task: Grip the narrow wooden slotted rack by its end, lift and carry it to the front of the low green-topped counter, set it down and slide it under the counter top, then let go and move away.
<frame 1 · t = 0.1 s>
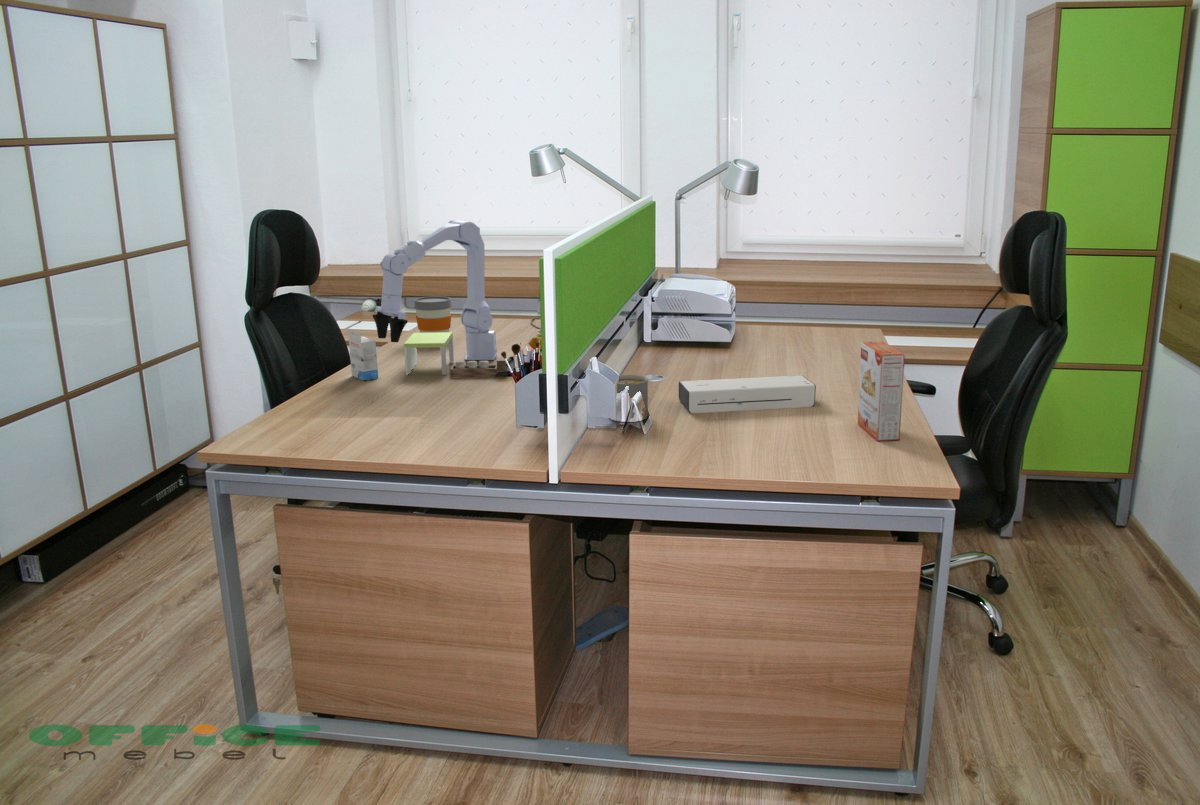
hand: (388, 340, 303), 11 cm above the table, tool pointing down, fingers open, 7 cm apart
ink box: (365, 378, 303), on the table
coffee mug: (621, 418, 258), on the table
laminator: (745, 405, 269), on the table
reusable coffee cup: (435, 342, 350), on the table
cracker box: (877, 433, 243), on the table
counter: (430, 368, 312), on the table
wooden slotted rack: (474, 375, 303), on the table
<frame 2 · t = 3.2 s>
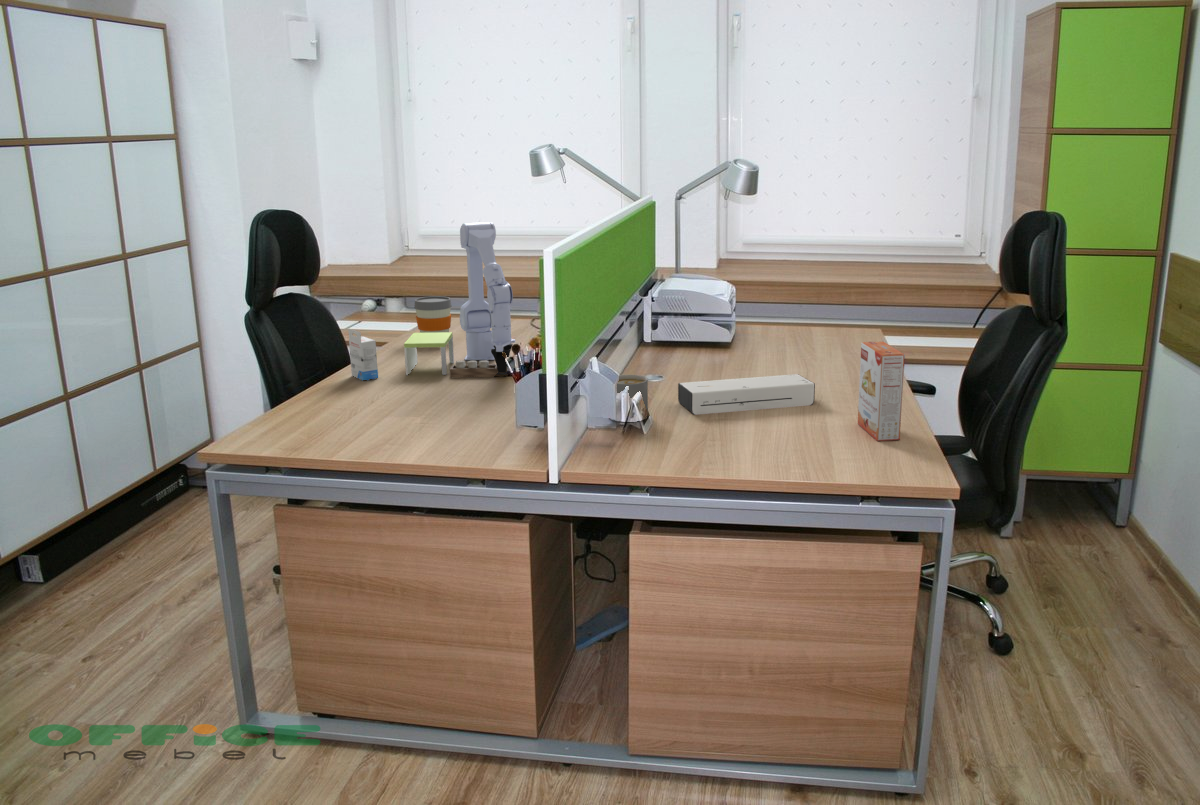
hand: (502, 370, 303), 1 cm above the table, tool pointing down, fingers closed on wooden slotted rack, 5 cm apart
wooden slotted rack: (474, 375, 303), on the table, touching gripper
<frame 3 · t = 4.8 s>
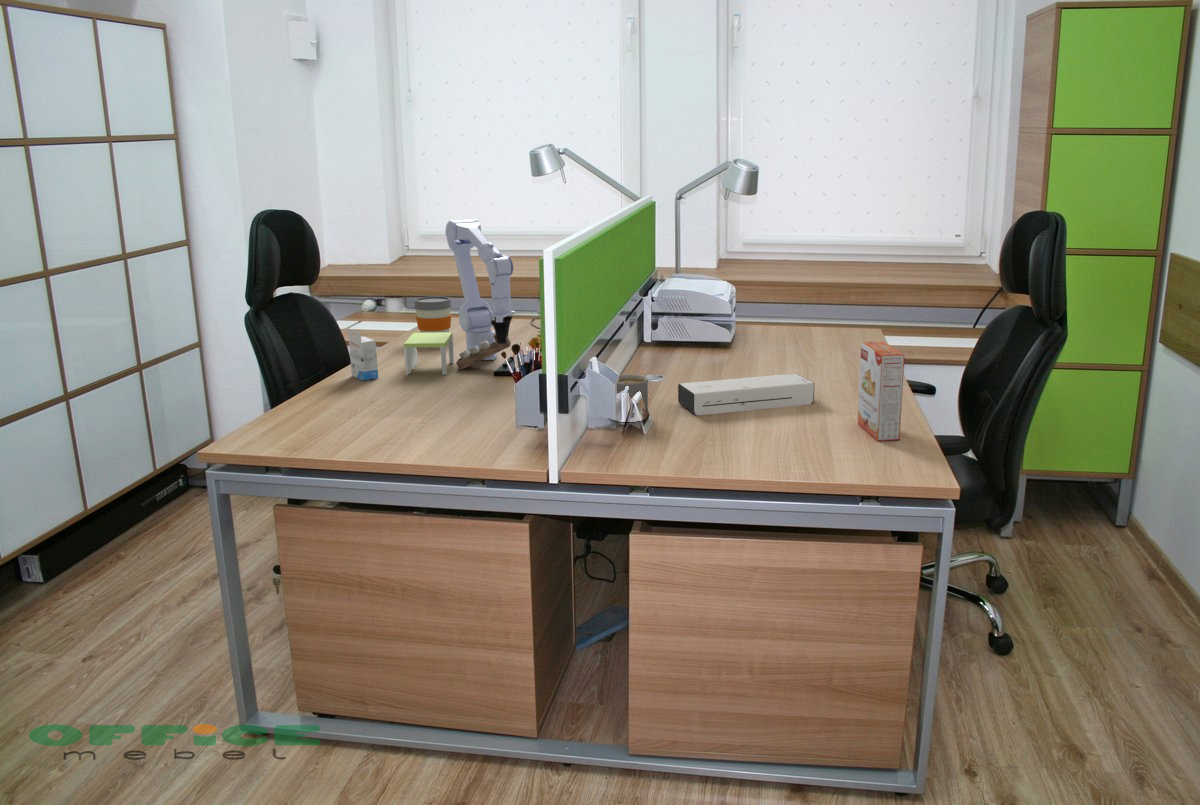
hand: (502, 341, 310), 8 cm above the table, tool pointing down, fingers closed on wooden slotted rack, 5 cm apart
wooden slotted rack: (481, 358, 311), point 3 cm above the table, tilted 25°, touching gripper
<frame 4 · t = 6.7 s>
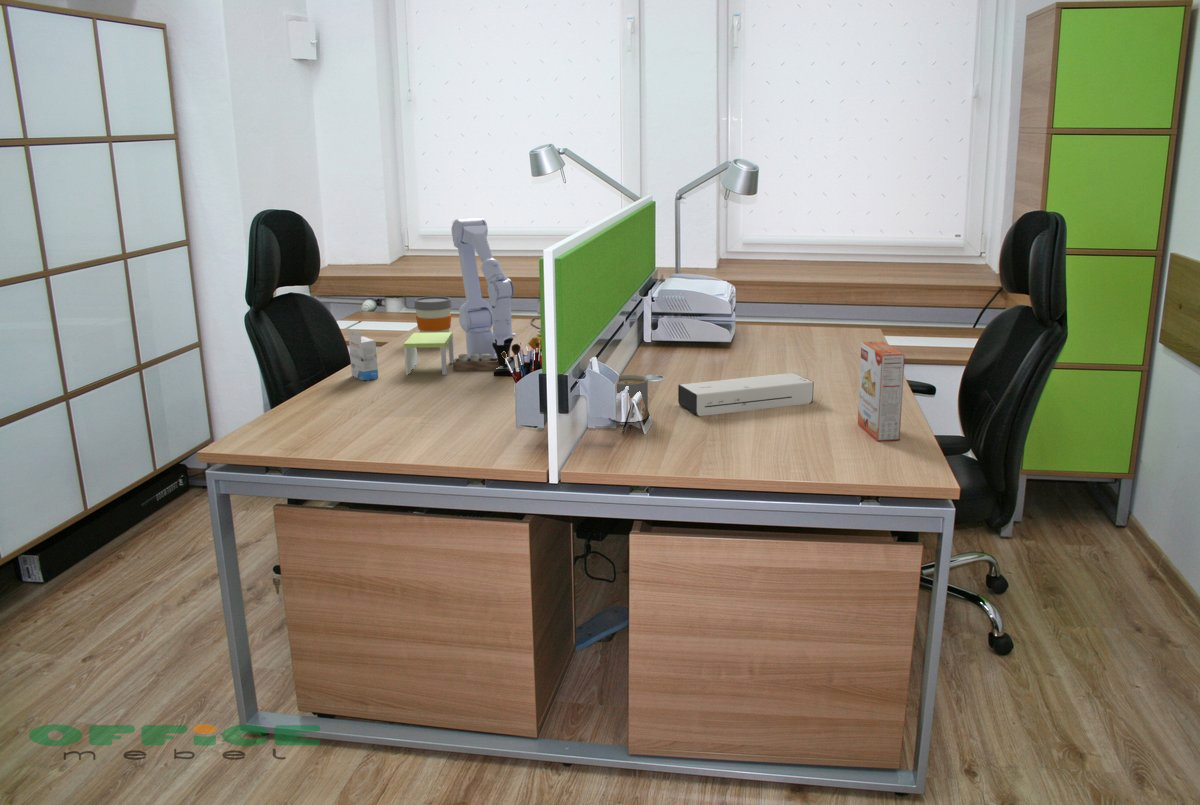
hand: (503, 363, 312), 1 cm above the table, tool pointing down, fingers closed on wooden slotted rack, 5 cm apart
wooden slotted rack: (477, 368, 312), on the table, touching gripper
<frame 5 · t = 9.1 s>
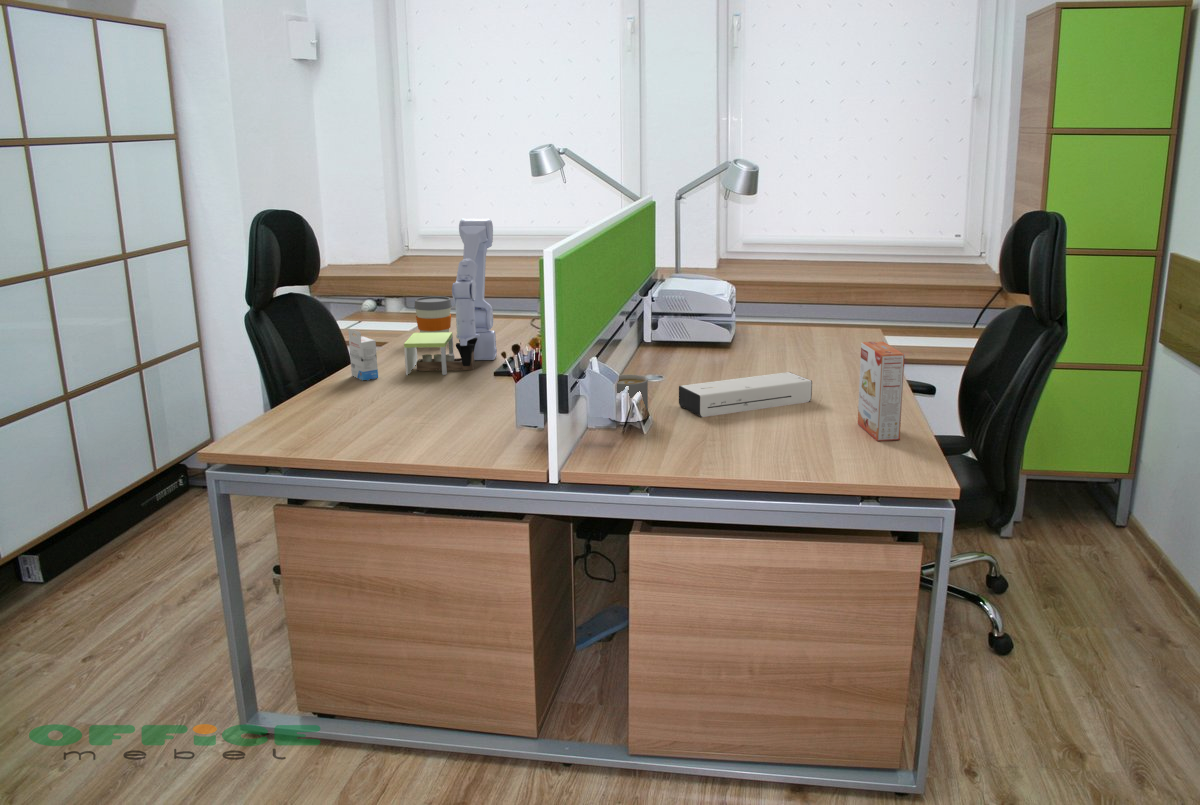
hand: (467, 363, 312), 1 cm above the table, tool pointing down, fingers closed on wooden slotted rack, 5 cm apart
wooden slotted rack: (441, 368, 312), on the table, touching gripper
when the fingers open (1 cm above the table, at t = 10.6 s): wooden slotted rack stays where it is, on the table.
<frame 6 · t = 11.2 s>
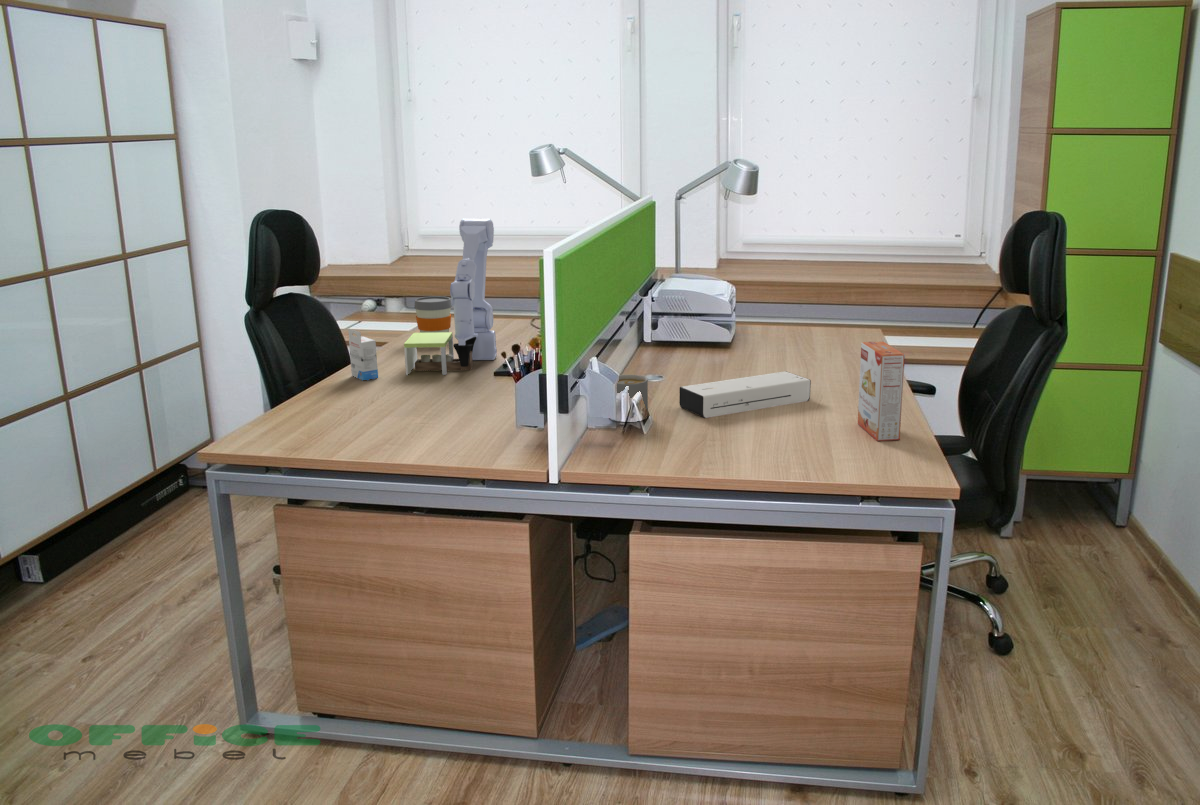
hand: (466, 363, 312), 1 cm above the table, tool pointing down, fingers open, 7 cm apart
wooden slotted rack: (439, 368, 312), on the table
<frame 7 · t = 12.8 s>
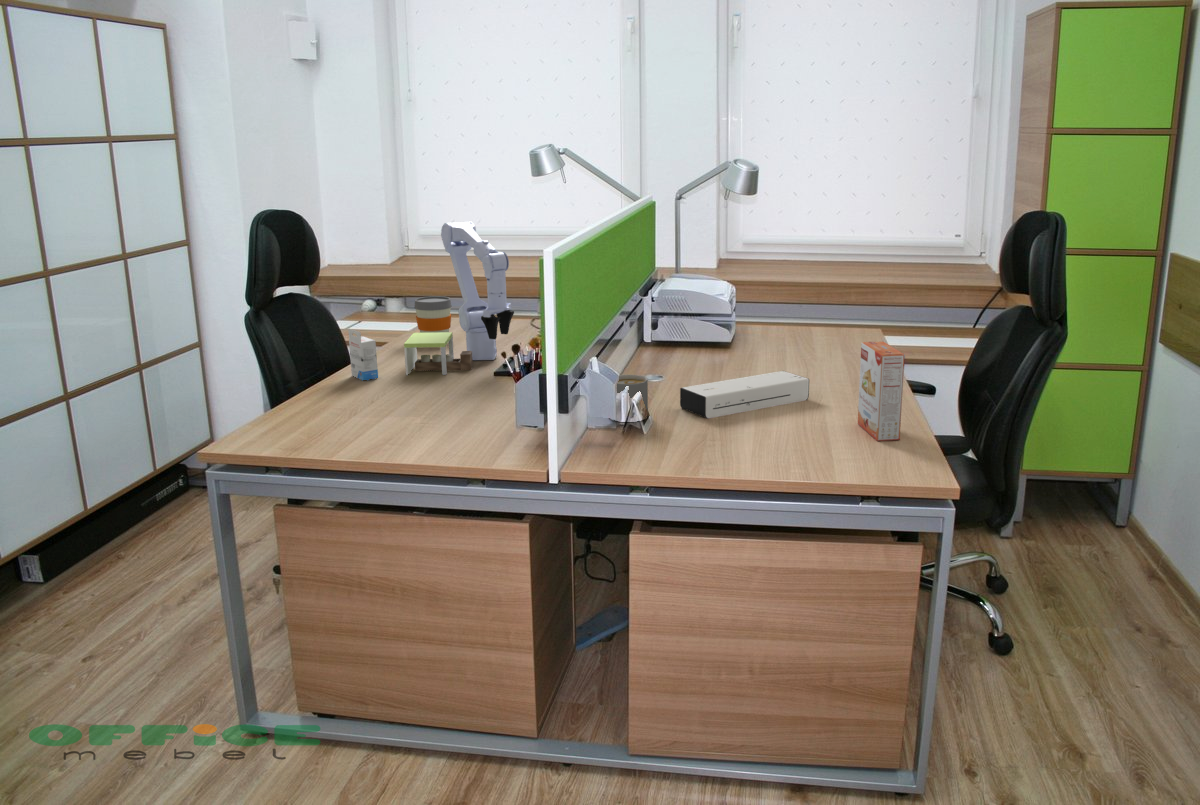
hand: (498, 336, 312), 9 cm above the table, tool pointing down, fingers open, 7 cm apart
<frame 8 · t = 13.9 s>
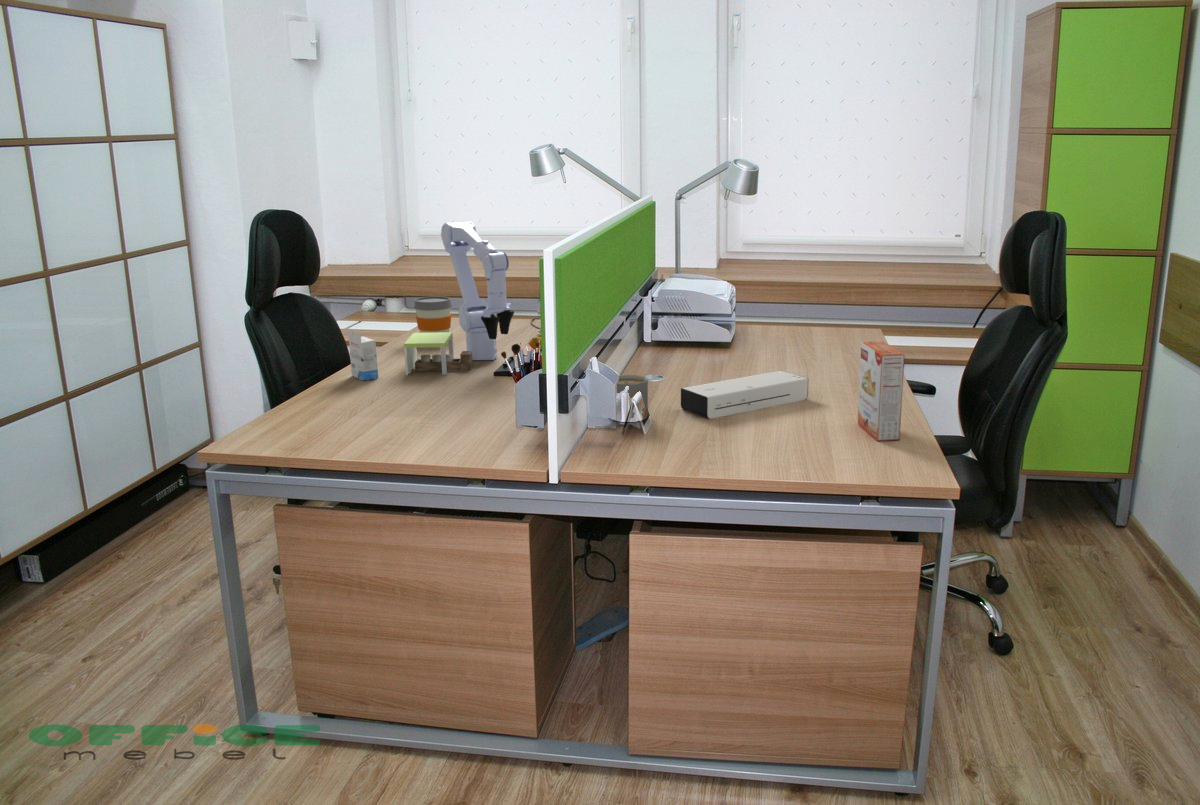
hand: (498, 336, 312), 9 cm above the table, tool pointing down, fingers open, 7 cm apart
at the end: wooden slotted rack 1.2 cm from the target spot, on the table; wooden slotted rack tilted 0°; the gripper is holding nothing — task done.
